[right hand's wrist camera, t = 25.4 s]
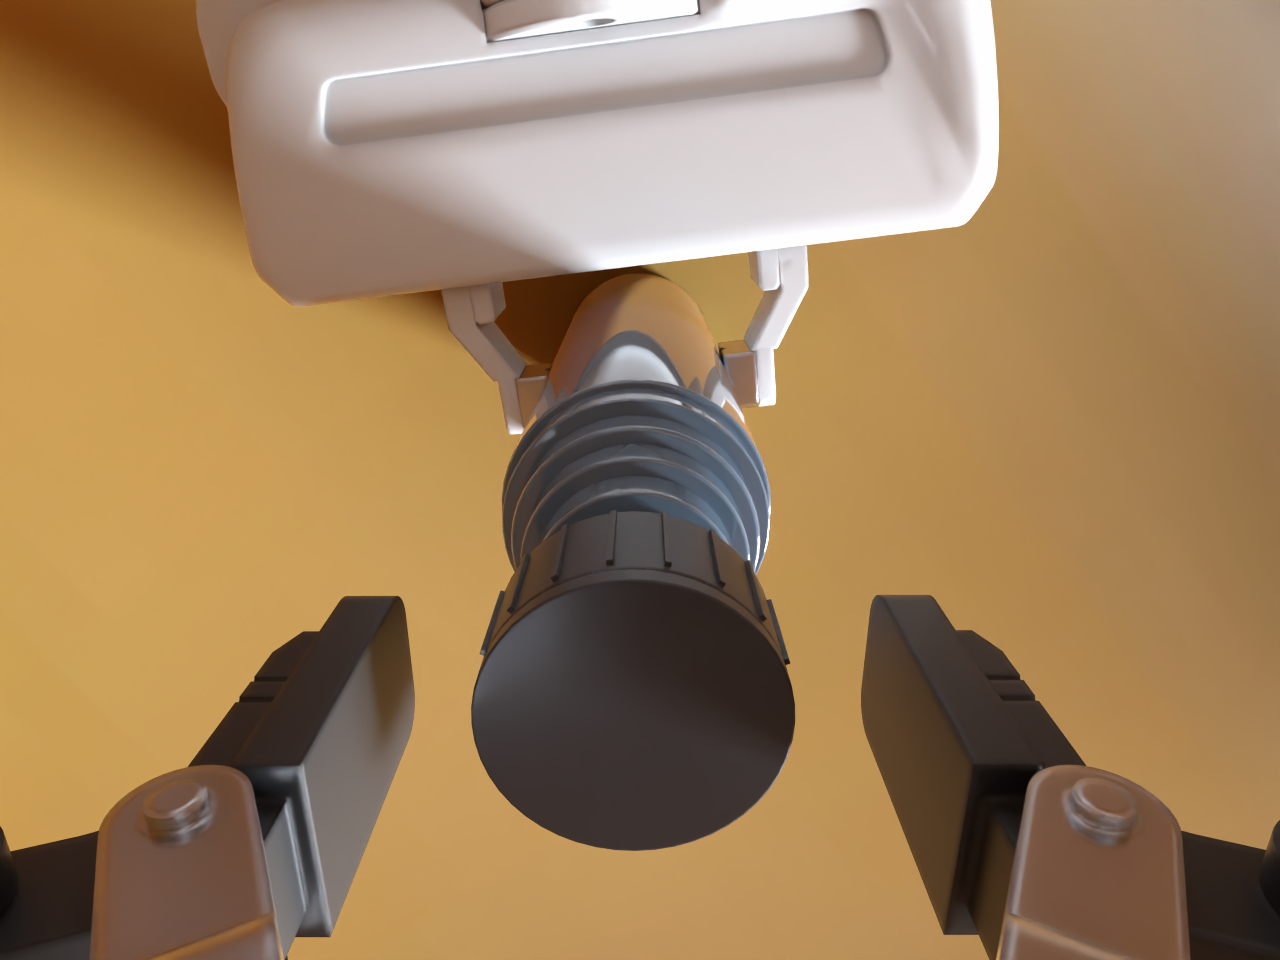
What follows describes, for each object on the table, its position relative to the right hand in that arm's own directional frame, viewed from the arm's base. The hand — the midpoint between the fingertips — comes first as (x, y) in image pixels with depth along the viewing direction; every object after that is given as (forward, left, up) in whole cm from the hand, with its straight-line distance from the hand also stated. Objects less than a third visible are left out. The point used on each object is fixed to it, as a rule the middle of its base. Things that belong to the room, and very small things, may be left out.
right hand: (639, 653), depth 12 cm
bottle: (0, 0, -21) cm, 21 cm away
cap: (0, 0, +1) cm, 1 cm away
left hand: (+1, -1, -15) cm, 15 cm away
